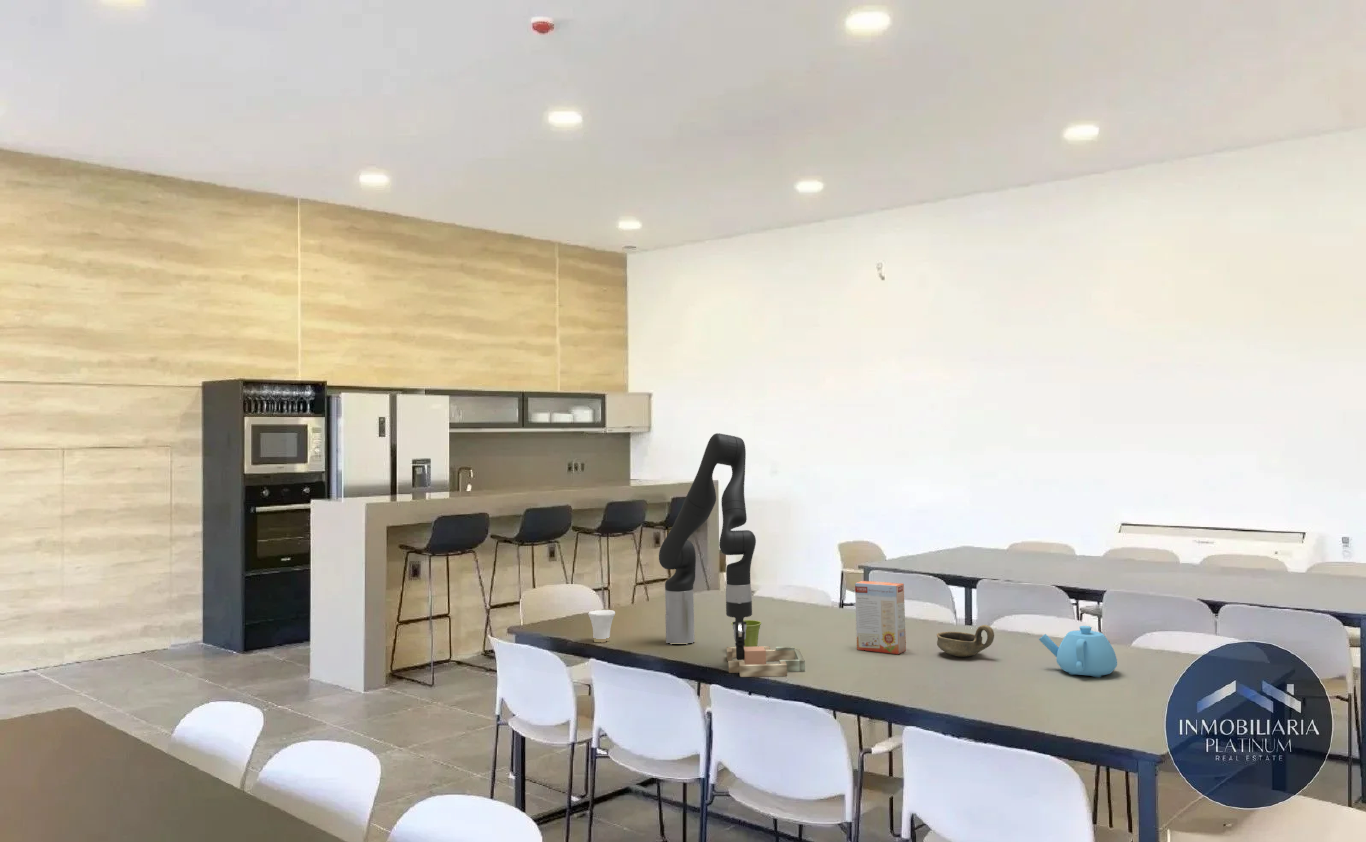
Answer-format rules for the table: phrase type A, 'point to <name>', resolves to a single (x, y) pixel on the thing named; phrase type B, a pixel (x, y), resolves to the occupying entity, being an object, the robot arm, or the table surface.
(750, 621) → the plant pot
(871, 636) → the cracker box
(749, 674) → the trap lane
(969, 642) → the bowl
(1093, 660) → the teapot
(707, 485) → the robot arm
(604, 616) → the cup
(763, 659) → the block
